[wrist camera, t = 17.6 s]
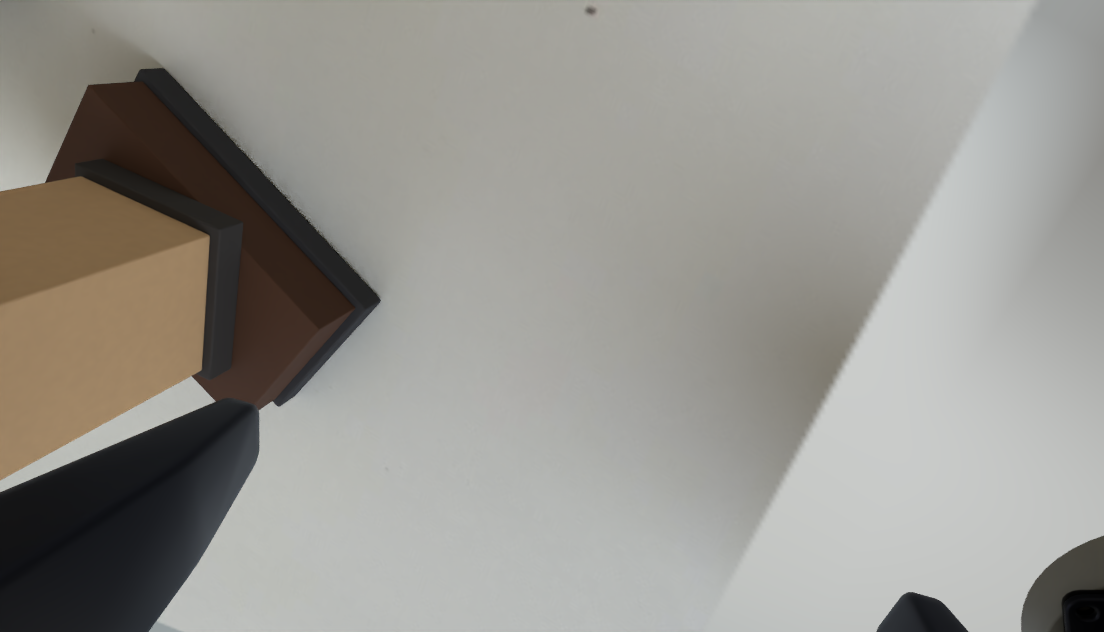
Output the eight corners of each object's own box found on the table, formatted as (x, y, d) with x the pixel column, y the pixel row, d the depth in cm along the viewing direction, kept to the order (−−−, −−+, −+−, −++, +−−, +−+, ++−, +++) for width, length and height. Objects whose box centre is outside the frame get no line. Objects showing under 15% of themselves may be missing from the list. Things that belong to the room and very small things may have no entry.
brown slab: (382, 300, 24) (329, 332, 22) (294, 396, 27) (240, 434, 25) (163, 67, 24) (83, 70, 21) (100, 191, 27) (23, 208, 24)
